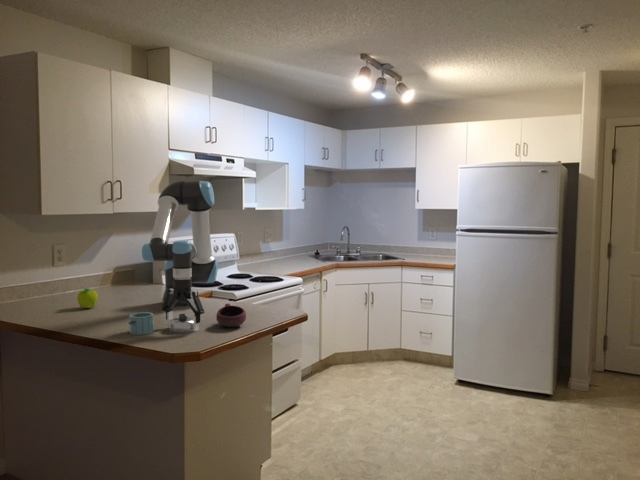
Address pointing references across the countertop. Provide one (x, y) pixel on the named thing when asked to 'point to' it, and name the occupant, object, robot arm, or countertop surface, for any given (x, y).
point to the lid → (181, 324)
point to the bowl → (231, 316)
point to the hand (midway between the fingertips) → (183, 329)
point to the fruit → (87, 298)
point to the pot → (141, 323)
